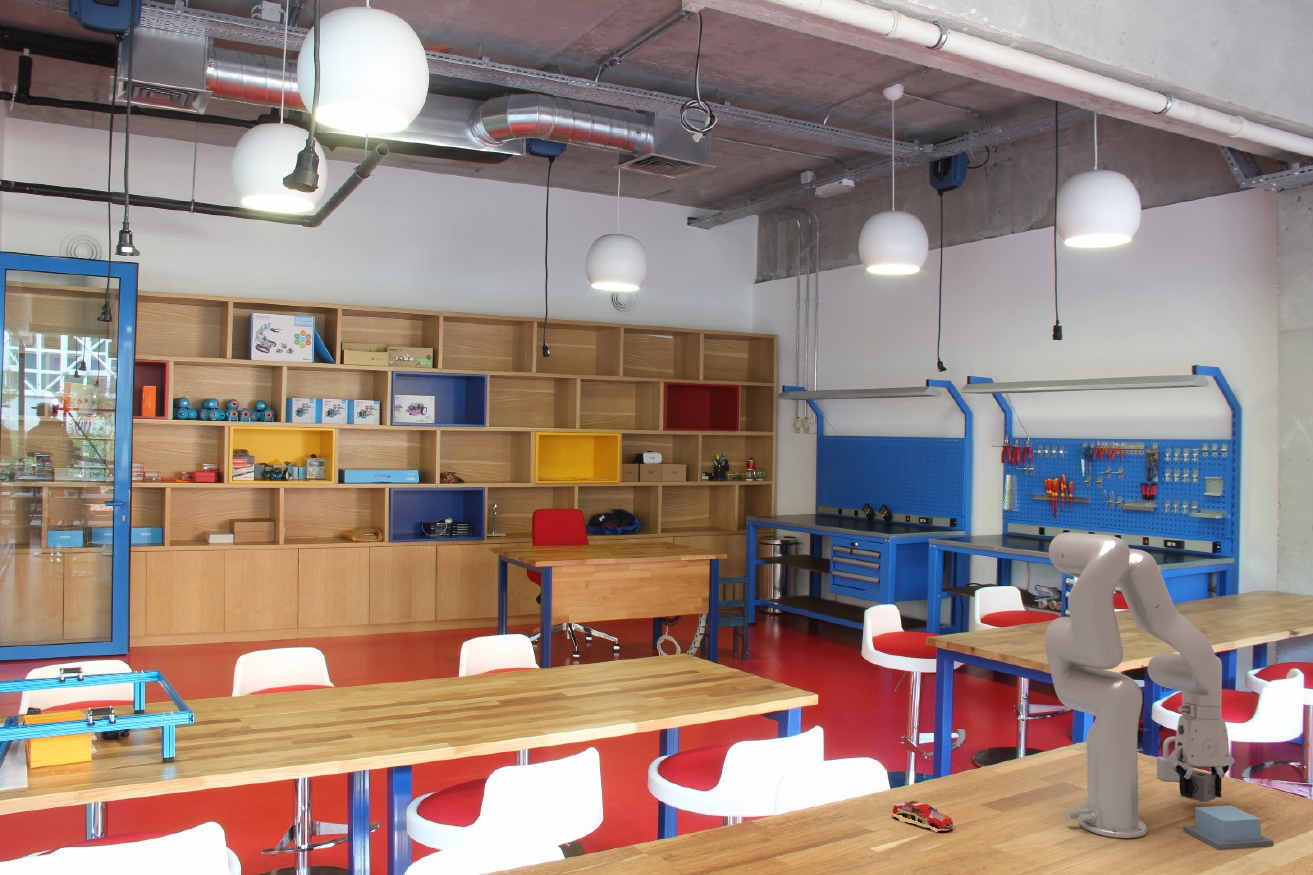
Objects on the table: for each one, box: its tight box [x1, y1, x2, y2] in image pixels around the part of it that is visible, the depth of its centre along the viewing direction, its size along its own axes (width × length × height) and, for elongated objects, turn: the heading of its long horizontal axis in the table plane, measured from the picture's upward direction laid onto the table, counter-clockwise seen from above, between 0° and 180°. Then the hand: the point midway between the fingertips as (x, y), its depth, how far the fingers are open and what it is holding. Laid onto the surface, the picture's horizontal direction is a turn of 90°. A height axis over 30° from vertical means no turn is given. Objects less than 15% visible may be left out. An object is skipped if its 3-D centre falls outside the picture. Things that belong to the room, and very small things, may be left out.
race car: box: [892, 800, 954, 829], centre depth 209 cm, size 13×5×4 cm, turn 41°
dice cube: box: [1180, 769, 1217, 803], centre depth 219 cm, size 5×5×5 cm
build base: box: [1182, 804, 1275, 851], centre depth 201 cm, size 12×10×5 cm
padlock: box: [1156, 736, 1187, 782], centre depth 239 cm, size 7×4×10 cm, turn 95°
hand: (1200, 794), depth 218 cm, fingers closed on dice cube, 6 cm apart
